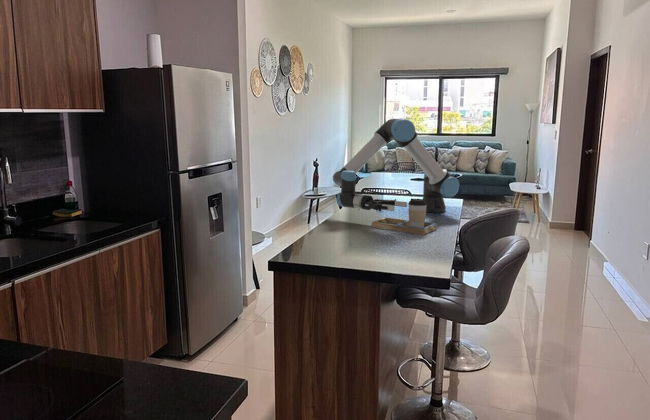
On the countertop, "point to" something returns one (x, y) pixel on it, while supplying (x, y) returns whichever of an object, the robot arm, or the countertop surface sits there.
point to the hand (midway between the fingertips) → (400, 206)
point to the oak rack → (403, 226)
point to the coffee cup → (417, 212)
